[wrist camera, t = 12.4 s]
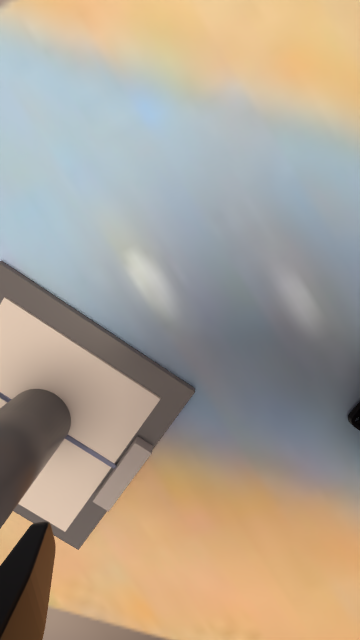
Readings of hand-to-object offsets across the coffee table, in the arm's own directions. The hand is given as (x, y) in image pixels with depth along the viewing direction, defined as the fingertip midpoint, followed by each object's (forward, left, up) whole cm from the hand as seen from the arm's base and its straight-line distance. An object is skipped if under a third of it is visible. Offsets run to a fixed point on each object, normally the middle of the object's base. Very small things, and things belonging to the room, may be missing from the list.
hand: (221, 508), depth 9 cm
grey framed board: (+7, +8, -11) cm, 16 cm away
